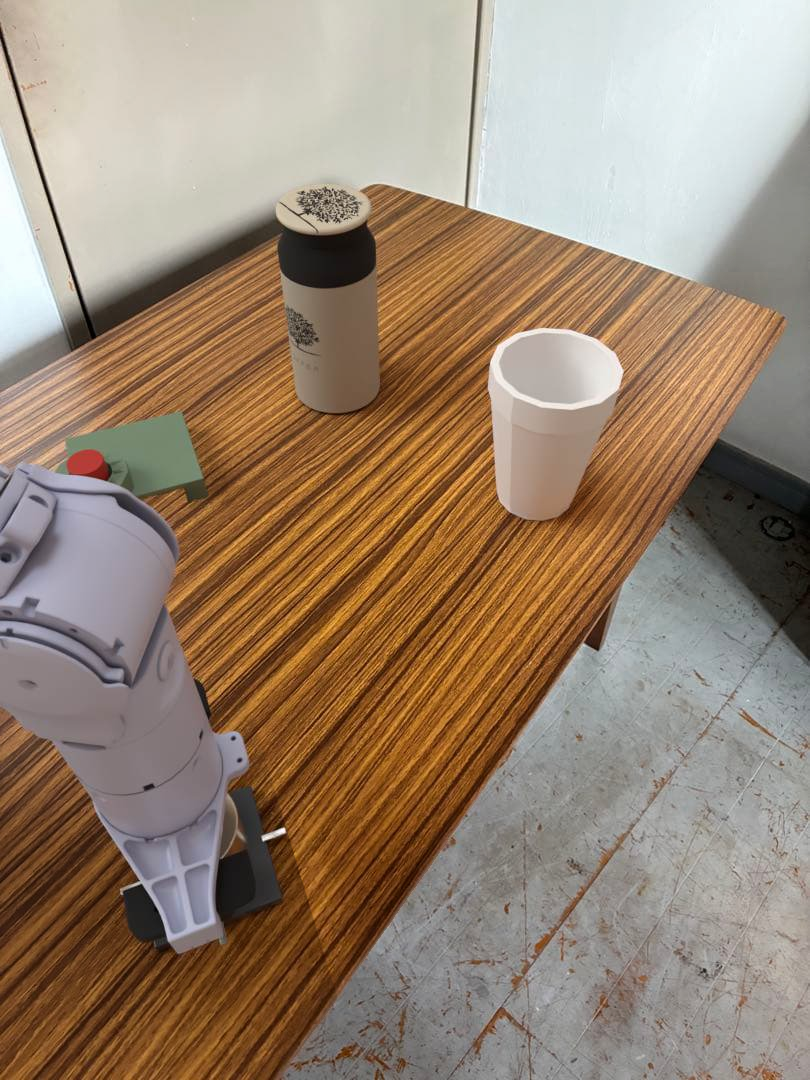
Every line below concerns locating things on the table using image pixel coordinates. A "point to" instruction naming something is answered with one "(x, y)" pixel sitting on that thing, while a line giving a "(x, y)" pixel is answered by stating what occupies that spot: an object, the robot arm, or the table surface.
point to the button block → (146, 456)
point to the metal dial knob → (233, 832)
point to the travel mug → (330, 296)
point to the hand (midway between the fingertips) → (197, 848)
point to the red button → (88, 464)
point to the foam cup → (548, 416)
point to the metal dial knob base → (260, 862)
